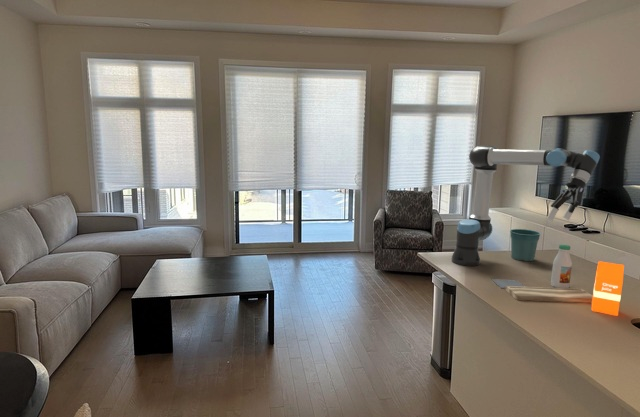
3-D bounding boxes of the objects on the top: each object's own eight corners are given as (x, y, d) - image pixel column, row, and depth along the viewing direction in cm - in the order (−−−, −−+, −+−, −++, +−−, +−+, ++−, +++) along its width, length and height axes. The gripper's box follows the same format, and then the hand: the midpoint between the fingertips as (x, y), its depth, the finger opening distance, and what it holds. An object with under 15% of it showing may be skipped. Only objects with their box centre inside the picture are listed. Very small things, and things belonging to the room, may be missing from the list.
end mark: (491, 279, 206) (491, 279, 206) (515, 280, 206) (516, 280, 206) (501, 288, 194) (501, 287, 194) (527, 289, 194) (527, 288, 194)
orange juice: (617, 316, 166) (625, 267, 163) (591, 310, 171) (598, 263, 168) (616, 309, 173) (623, 262, 170) (591, 304, 178) (597, 258, 174)
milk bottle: (551, 287, 198) (556, 246, 194) (549, 282, 205) (554, 242, 201) (570, 290, 195) (575, 248, 192) (567, 285, 202) (572, 244, 199)
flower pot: (511, 261, 240) (514, 233, 238) (503, 253, 256) (506, 228, 254) (541, 263, 238) (545, 235, 235) (532, 255, 254) (535, 229, 251)
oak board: (505, 290, 192) (505, 285, 192) (580, 292, 192) (580, 288, 191) (516, 299, 180) (517, 295, 180) (596, 302, 180) (597, 298, 180)
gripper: (602, 181, 189) (580, 222, 187) (569, 188, 214) (549, 224, 212) (587, 172, 189) (566, 213, 188) (556, 180, 214) (536, 216, 213)
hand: (557, 219), depth 200 cm, fingers open, 13 cm apart
